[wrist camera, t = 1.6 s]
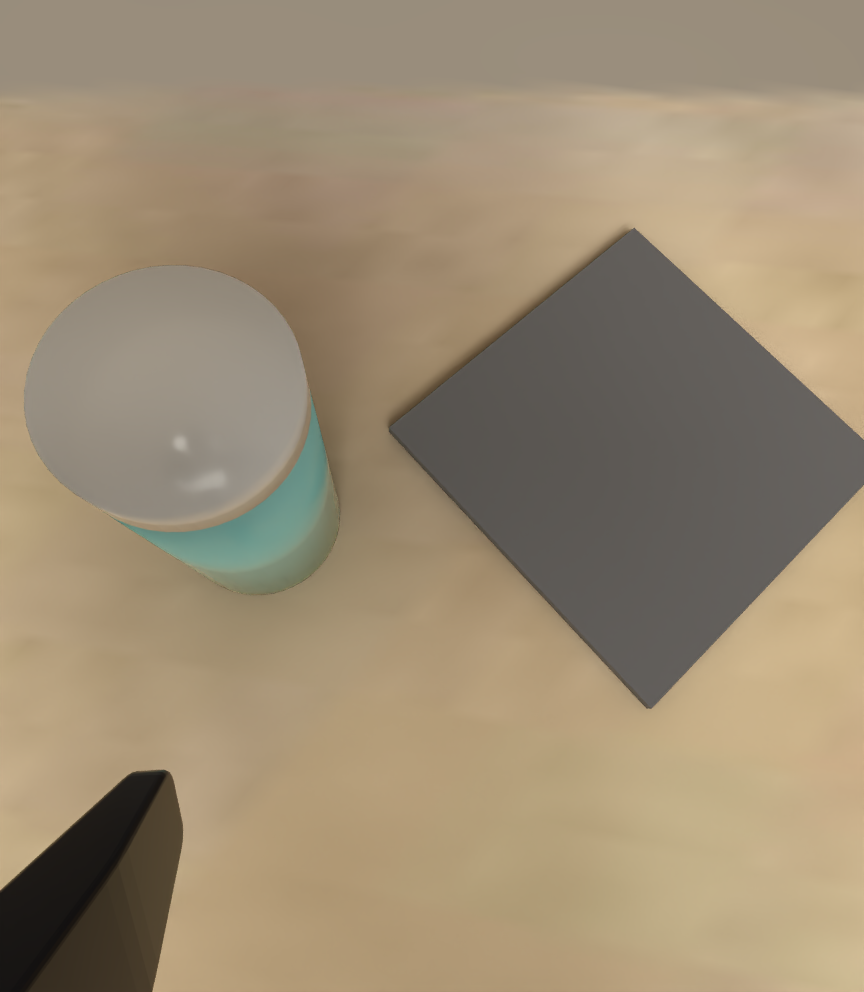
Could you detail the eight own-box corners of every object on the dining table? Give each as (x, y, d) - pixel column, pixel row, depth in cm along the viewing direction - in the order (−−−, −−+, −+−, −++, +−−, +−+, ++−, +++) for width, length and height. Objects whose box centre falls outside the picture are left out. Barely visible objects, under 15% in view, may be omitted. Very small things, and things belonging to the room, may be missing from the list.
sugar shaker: (248, 628, 21) (135, 576, 12) (149, 510, 22) (-33, 371, 13) (371, 523, 23) (360, 397, 13) (273, 414, 23) (193, 219, 14)
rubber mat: (646, 708, 22) (651, 708, 21) (389, 431, 23) (389, 427, 23) (878, 464, 24) (886, 461, 24) (630, 234, 26) (633, 227, 26)
